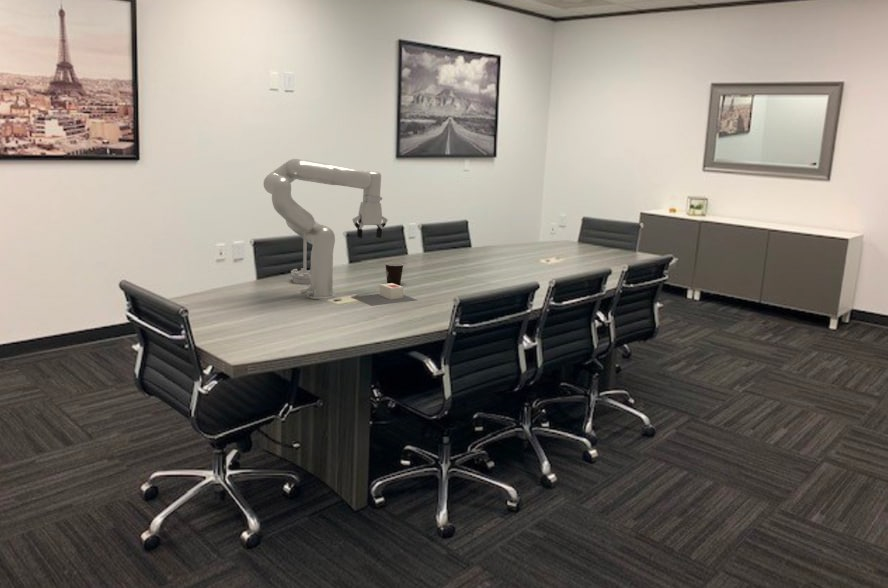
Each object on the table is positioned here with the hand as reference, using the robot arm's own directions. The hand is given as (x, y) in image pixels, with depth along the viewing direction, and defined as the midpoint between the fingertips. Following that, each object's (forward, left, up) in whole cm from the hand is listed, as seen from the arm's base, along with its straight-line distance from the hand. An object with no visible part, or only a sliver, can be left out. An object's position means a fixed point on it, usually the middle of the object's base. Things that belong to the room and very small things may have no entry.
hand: (369, 237), depth 327 cm
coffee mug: (+22, +12, -26) cm, 36 cm away
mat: (-1, -15, -26) cm, 30 cm away
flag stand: (-15, +34, -26) cm, 45 cm away
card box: (+4, -13, -25) cm, 28 cm away
